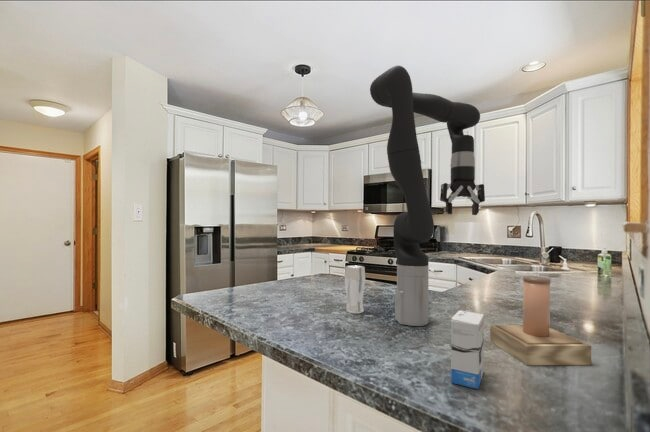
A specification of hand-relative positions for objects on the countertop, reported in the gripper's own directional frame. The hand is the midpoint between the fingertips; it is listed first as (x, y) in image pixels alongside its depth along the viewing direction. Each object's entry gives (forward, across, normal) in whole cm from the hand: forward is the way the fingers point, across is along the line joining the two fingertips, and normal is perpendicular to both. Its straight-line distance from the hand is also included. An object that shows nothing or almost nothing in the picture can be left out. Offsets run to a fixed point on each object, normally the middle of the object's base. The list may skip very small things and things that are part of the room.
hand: (462, 214), depth 108 cm
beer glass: (+34, -36, +2) cm, 49 cm away
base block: (+33, +2, -33) cm, 47 cm away
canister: (+29, +2, -33) cm, 44 cm away
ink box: (+34, -20, -45) cm, 59 cm away
